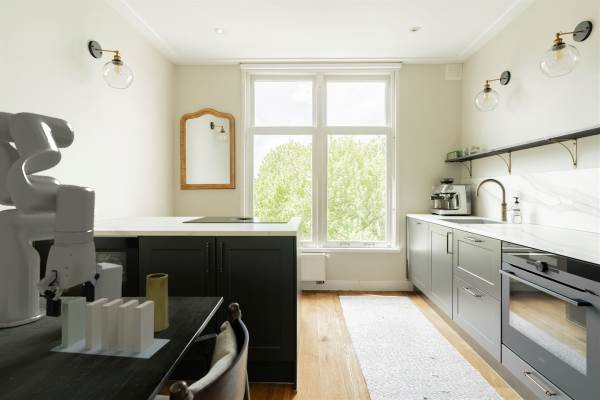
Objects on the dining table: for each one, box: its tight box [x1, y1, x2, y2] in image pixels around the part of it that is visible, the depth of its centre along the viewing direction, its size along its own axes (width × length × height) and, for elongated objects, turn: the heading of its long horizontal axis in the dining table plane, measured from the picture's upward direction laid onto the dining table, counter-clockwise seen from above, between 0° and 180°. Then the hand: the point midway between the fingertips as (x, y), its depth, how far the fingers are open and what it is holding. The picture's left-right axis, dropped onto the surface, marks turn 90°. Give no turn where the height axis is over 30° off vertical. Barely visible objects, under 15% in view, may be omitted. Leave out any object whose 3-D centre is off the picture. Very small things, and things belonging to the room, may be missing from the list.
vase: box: [145, 272, 170, 333], centre depth 83 cm, size 6×6×14 cm
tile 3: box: [101, 298, 124, 350], centre depth 73 cm, size 2×5×10 cm, turn 173°
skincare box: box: [82, 262, 123, 305], centre depth 90 cm, size 8×7×16 cm
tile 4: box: [117, 299, 140, 351], centre depth 72 cm, size 2×5×10 cm, turn 173°
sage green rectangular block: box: [61, 296, 86, 347], centre depth 74 cm, size 2×5×10 cm, turn 173°
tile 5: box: [134, 300, 155, 353], centre depth 72 cm, size 2×5×10 cm, turn 173°
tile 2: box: [85, 298, 108, 349], centre depth 73 cm, size 2×5×10 cm, turn 173°
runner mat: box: [49, 338, 171, 359], centre depth 73 cm, size 24×9×1 cm, turn 83°
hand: (71, 308), depth 75 cm, fingers open, 9 cm apart
